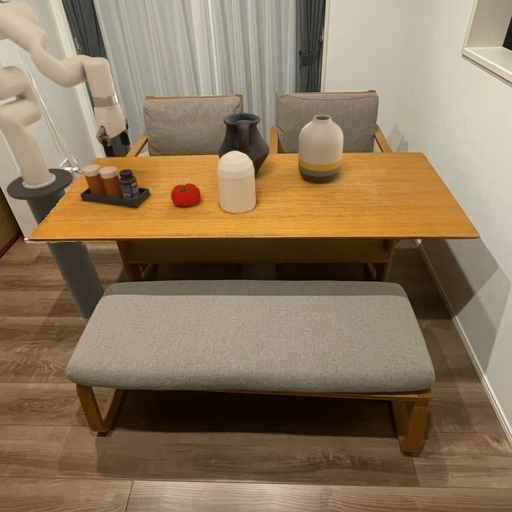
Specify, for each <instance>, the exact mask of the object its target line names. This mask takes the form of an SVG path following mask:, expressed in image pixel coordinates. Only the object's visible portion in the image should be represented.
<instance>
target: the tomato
mask: <svg viewBox="0 0 512 512" xmlns="http://www.w3.org/2000/svg"><path fill="white" fill-rule="evenodd" d="M201 195H202V194H201V190H200V189H199V187H197V186H196V185H195V184H193V183H189V182H187V183H185V184H182V183H181V184H177V185H175V186H173V188H172V190H171V192H170V198H171V202H172V204H173V205H174V206H177V207H180V206H183V207H190V206H193V205H196V204H199V202H200V201H201Z"/></svg>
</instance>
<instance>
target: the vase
mask: <svg viewBox="0 0 512 512" xmlns="http://www.w3.org/2000/svg"><path fill="white" fill-rule="evenodd" d="M343 148H344V134H343V130H342V129H341V127H340V126H339V124H337V123H336V122H335V121H333V120H332V116H331V115H328V114H317V115H314V116H313V118H312V120H311V121H310V122H308V123H307V124H305V125H304V126H303V127H302V128H301V131H300V133H299V136H298V154H297V155H298V156H297V157H298V158H297V159H298V160H297V164H298V165H297V167H298V172H299V174H300V175H301V177H302V178H303V179H305V180H306V181H308V182H312V183H325V182H329V181H333V180H334V179H335V178H336V177H337V176H338V175H339V173H340V171H341V166H342V159H343Z"/></svg>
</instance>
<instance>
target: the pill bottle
mask: <svg viewBox="0 0 512 512" xmlns="http://www.w3.org/2000/svg"><path fill="white" fill-rule="evenodd" d="M118 176H119V179H120V180H119V182H120V186H121V189H122V192H123V196H124V199H125V200H132V201H135V200H136V199H137V198H138V197H139V196H140V192H139V188H138V187H139V184H138V181H137V180H138V179H137V177H136V176H135V175H134V173H133V170H132V169H130V168H124V169H122V170H120V171H118Z"/></svg>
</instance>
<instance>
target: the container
mask: <svg viewBox="0 0 512 512" xmlns="http://www.w3.org/2000/svg"><path fill="white" fill-rule="evenodd" d="M255 176H256V175H254V166H253V162H252V161H251V159H250V158H249V157H248V156H247V155H246V154H244V153H241V152H239V151H231V152H228V153H226V154H225V155H223V156H222V157H221V158H219V160H218V162H217V165H216V179H217V188H218V196H219V197H218V198H219V205H220V207H221V209H222V210H223V211H225V212H227V213H232V214H241V213H245V212H249V211H251V210H253V209H254V208H255V207H256V205H257V197H256V179H255V178H256V177H255Z"/></svg>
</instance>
